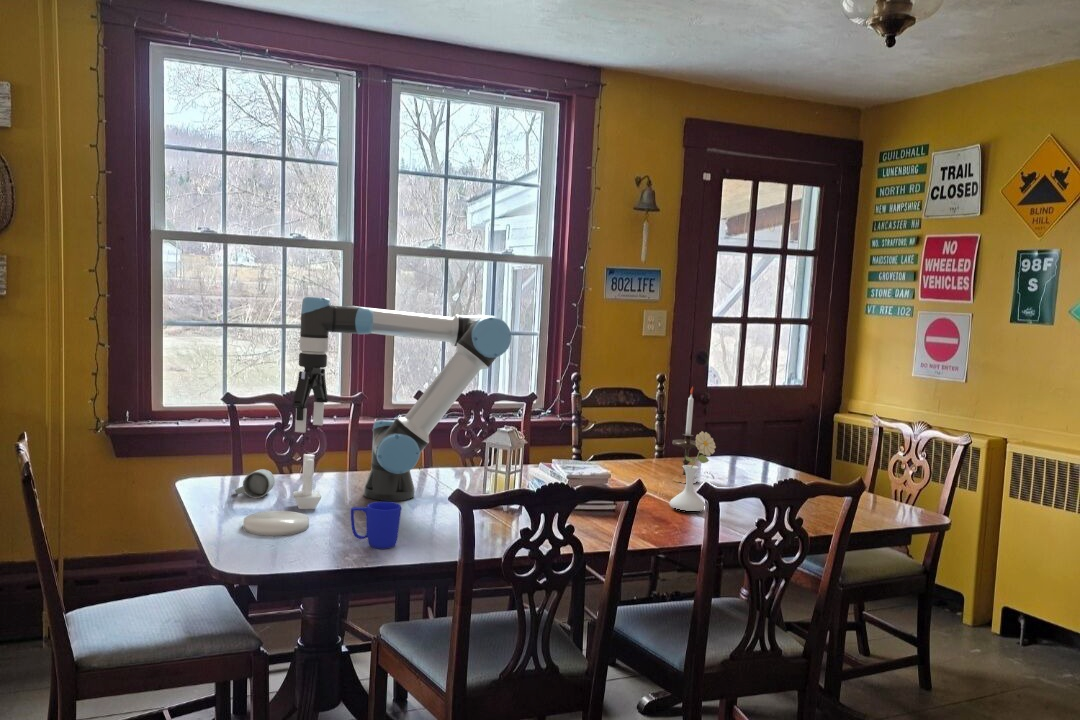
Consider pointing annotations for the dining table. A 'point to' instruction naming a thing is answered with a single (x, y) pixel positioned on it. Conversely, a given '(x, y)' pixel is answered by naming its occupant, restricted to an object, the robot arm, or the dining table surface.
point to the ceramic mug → (257, 483)
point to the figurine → (307, 486)
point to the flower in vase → (688, 496)
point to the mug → (380, 523)
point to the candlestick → (687, 433)
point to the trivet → (276, 523)
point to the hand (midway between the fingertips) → (309, 428)
